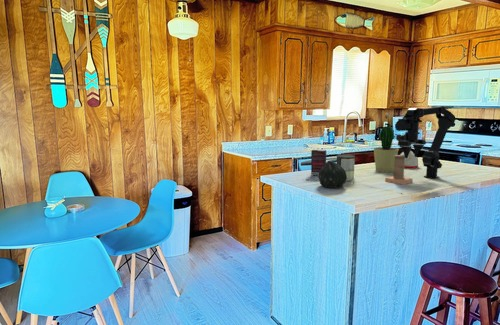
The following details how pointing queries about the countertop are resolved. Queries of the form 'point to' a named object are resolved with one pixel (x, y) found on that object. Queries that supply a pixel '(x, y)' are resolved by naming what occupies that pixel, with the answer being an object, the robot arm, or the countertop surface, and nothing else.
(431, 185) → the countertop surface
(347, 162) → the coffee can
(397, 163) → the walnut block
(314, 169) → the supplement box
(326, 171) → the squash
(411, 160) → the knit hat
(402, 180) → the top slab
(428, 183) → the countertop surface
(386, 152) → the potted cactus
